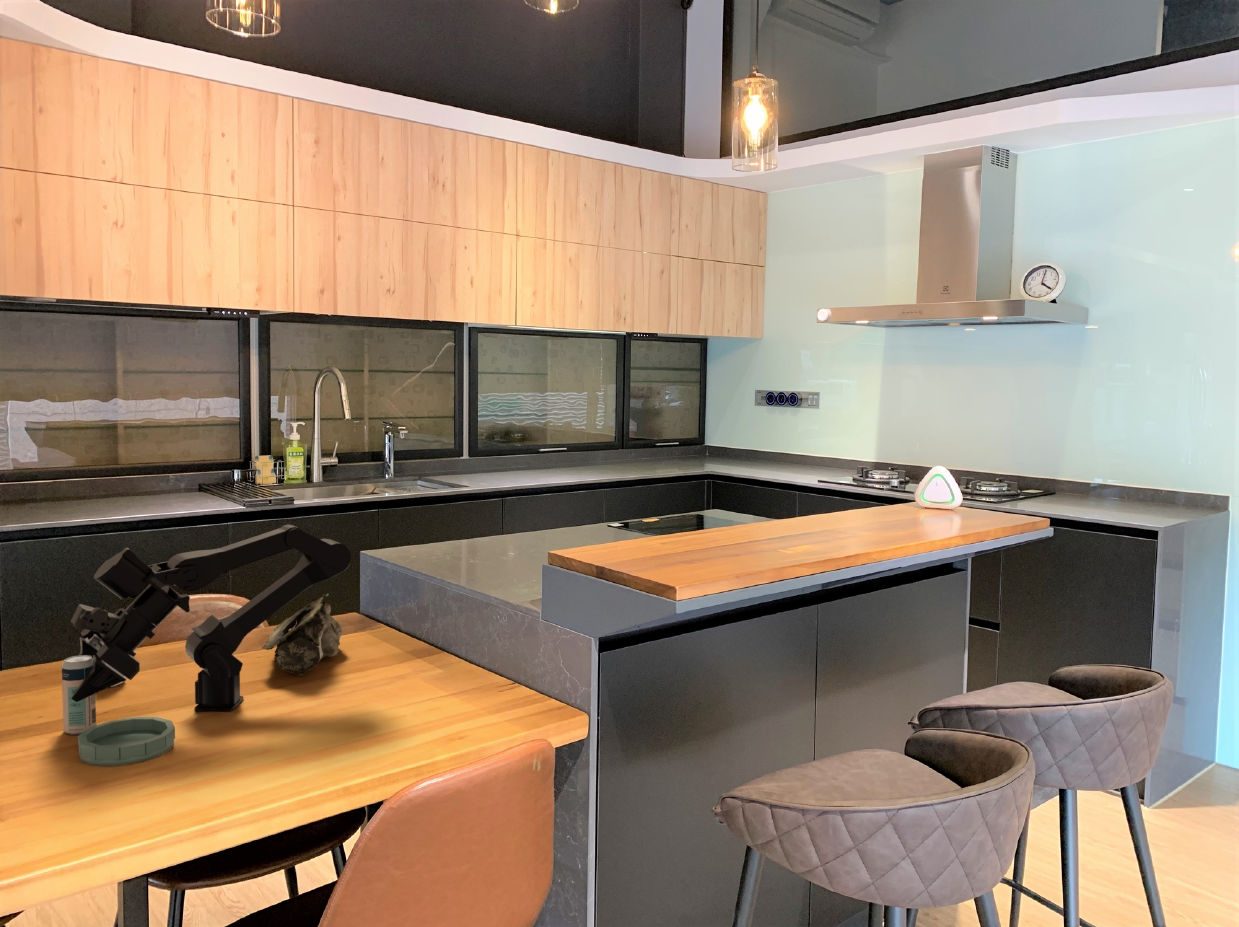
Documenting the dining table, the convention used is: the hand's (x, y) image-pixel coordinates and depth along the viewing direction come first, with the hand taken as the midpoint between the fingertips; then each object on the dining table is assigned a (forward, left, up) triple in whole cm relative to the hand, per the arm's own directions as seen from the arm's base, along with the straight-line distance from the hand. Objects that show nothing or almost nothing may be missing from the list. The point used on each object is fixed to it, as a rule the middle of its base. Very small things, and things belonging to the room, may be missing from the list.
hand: (69, 692), depth 151 cm
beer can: (-1, -1, -7) cm, 7 cm away
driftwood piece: (-27, -39, -7) cm, 48 cm away
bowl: (-12, +7, -7) cm, 16 cm away
